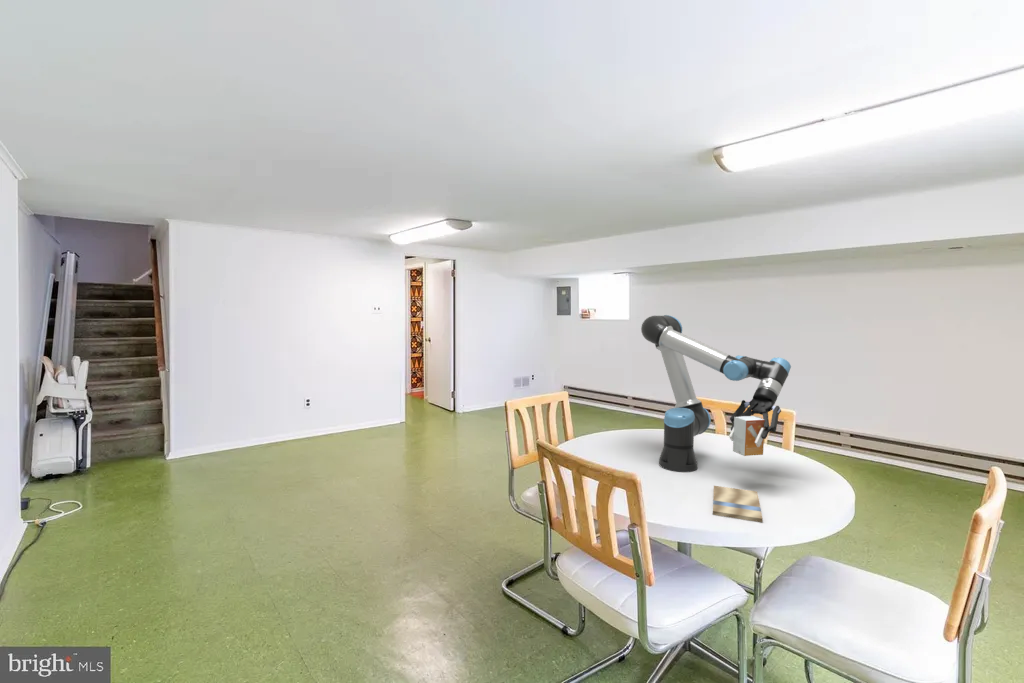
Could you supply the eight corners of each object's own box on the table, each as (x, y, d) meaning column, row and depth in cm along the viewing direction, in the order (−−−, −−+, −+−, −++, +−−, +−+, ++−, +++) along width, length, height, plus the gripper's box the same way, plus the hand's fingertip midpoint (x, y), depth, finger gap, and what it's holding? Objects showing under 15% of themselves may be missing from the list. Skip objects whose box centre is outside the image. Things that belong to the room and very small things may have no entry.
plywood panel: (712, 514, 151) (712, 510, 150) (713, 488, 172) (713, 485, 172) (762, 522, 145) (762, 518, 145) (757, 494, 167) (757, 491, 167)
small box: (744, 456, 169) (745, 420, 168) (732, 451, 175) (733, 416, 174) (763, 455, 171) (765, 419, 170) (751, 449, 177) (752, 415, 176)
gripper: (735, 383, 186) (712, 429, 177) (794, 390, 169) (771, 442, 160) (742, 395, 189) (719, 441, 181) (800, 403, 172) (778, 455, 164)
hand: (743, 441), depth 171 cm, fingers closed on small box, 9 cm apart
